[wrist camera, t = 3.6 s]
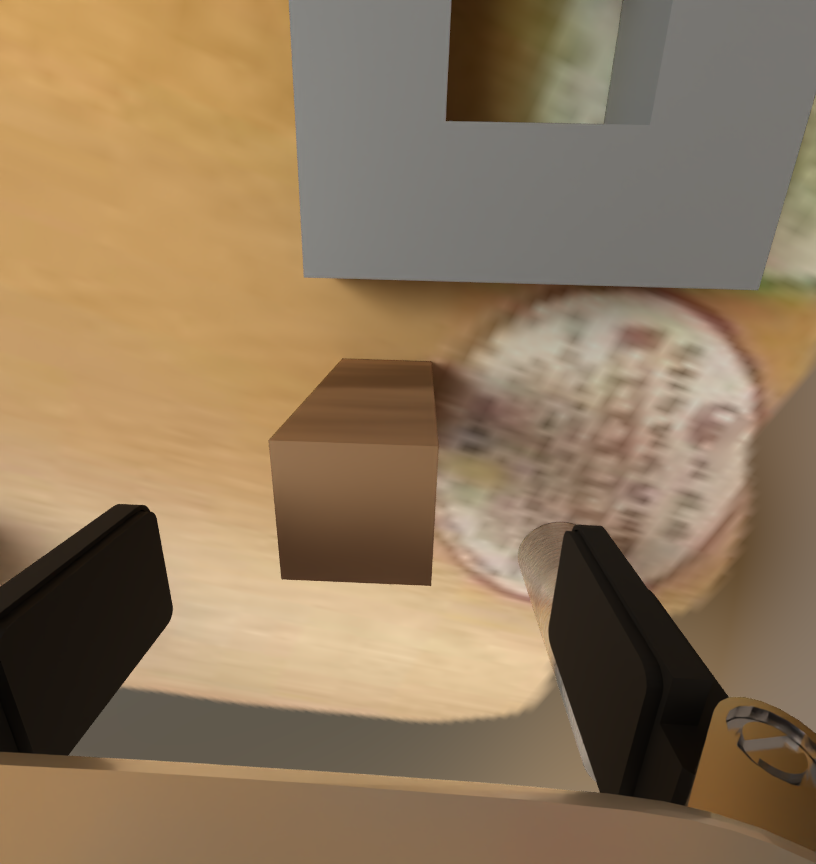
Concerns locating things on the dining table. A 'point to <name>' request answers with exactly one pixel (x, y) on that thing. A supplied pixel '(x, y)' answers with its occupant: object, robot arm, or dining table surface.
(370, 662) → the dining table surface
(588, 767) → the round peg
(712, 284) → the socket block
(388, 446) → the square peg
